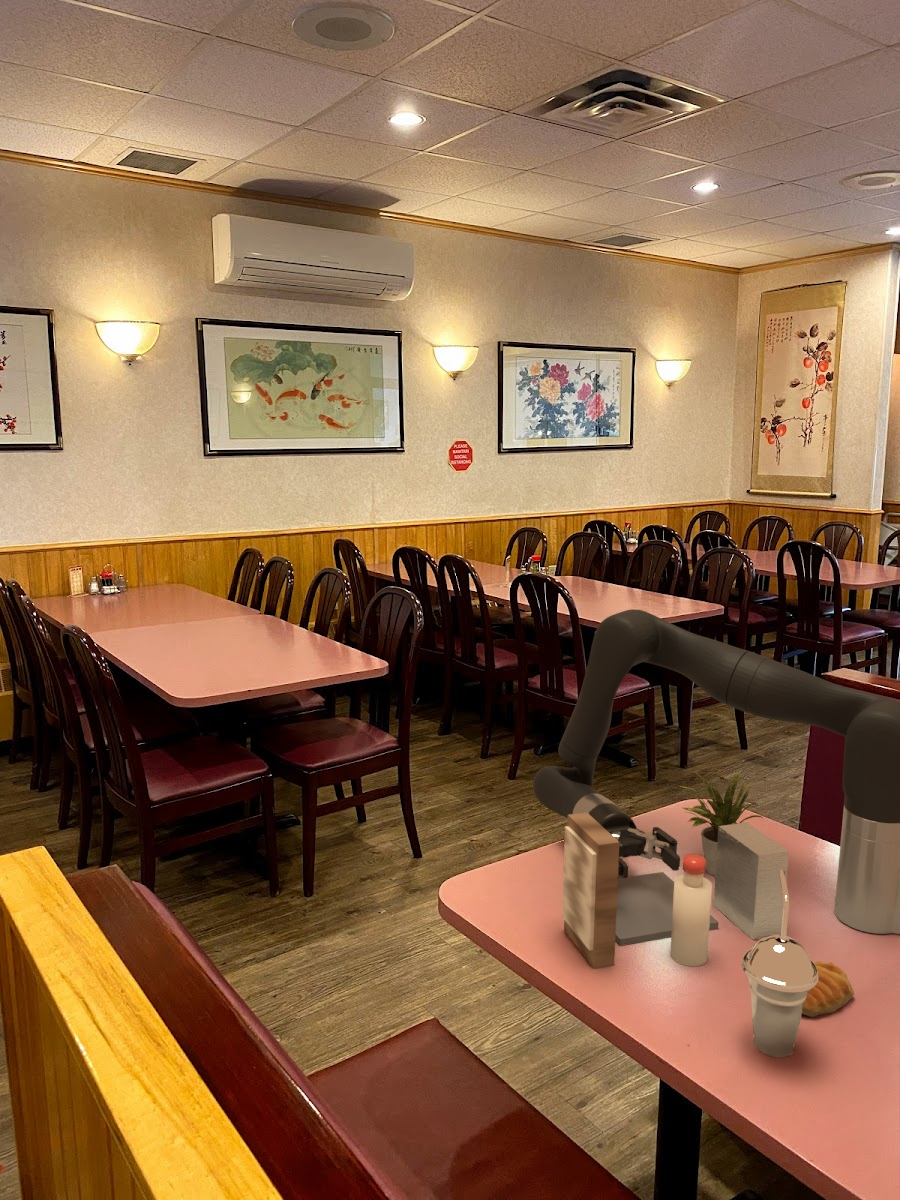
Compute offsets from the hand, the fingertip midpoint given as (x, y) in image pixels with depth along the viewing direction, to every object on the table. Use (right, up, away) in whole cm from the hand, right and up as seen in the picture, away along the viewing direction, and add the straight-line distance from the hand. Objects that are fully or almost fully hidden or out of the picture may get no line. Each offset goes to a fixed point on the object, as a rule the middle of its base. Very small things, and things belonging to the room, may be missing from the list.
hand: (651, 868), depth 136 cm
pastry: (+18, -12, -18) cm, 28 cm away
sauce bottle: (+3, -10, -9) cm, 13 cm away
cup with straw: (+9, -13, -27) cm, 31 cm away
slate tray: (-1, -7, +3) cm, 8 cm away
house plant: (+15, -5, +17) cm, 23 cm away
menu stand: (-10, -9, -7) cm, 15 cm away
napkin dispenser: (+14, -8, +1) cm, 16 cm away
